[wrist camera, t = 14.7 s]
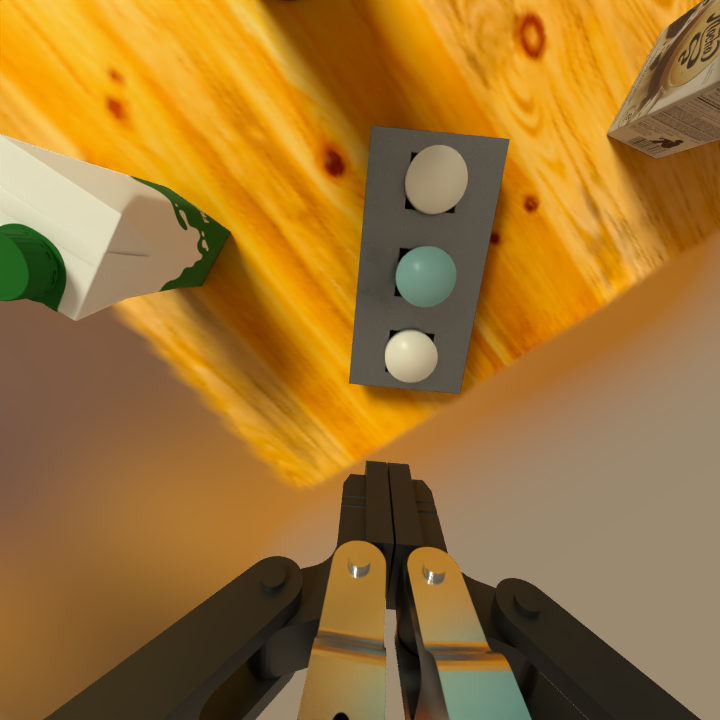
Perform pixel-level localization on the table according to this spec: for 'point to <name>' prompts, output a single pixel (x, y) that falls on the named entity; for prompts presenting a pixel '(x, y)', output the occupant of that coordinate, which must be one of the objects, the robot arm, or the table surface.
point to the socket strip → (415, 229)
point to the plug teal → (425, 276)
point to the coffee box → (676, 88)
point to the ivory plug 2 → (410, 355)
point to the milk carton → (94, 233)
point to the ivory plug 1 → (436, 179)
